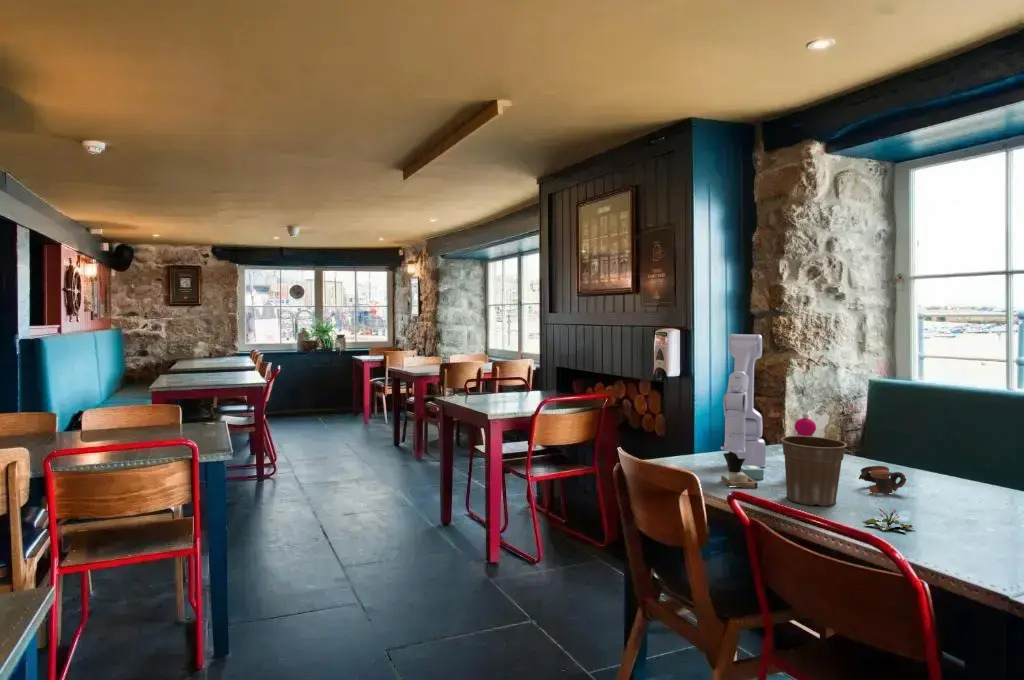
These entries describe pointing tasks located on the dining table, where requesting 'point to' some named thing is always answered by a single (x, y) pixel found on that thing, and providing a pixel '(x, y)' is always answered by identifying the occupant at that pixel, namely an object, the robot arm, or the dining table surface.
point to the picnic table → (741, 483)
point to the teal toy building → (753, 471)
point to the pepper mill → (805, 426)
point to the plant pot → (812, 469)
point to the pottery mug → (882, 479)
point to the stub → (738, 477)
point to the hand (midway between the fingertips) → (734, 477)
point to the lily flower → (887, 520)
